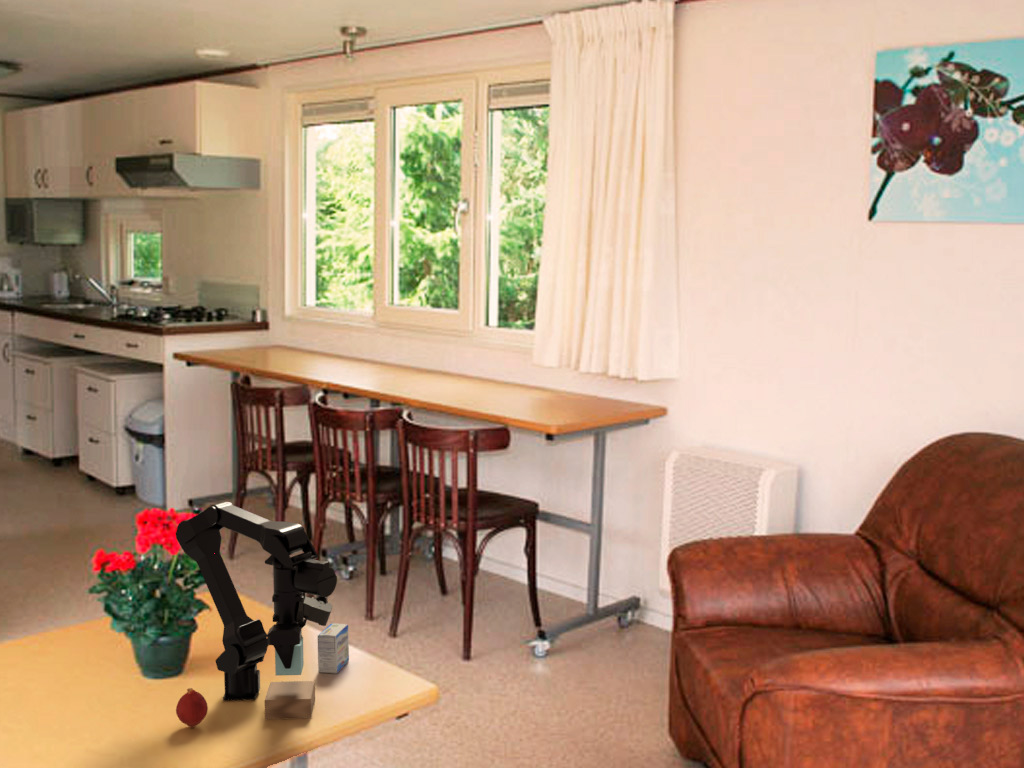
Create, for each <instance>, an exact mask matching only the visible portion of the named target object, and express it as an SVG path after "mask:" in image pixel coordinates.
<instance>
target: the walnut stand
mask: <svg viewBox="0 0 1024 768" xmlns="http://www.w3.org/2000/svg"><path fill="white" fill-rule="evenodd" d="M315 702H316V681H315V680H297V681H296V680H294V681H290V680H289V681H270V682H269V685H268V688H267V691H266V695H265V697H264V719H265V720H287V719H289V720H291V719H293V720H294V719H297V720H298V719H312V715H313V710H314V707H315Z"/></svg>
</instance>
